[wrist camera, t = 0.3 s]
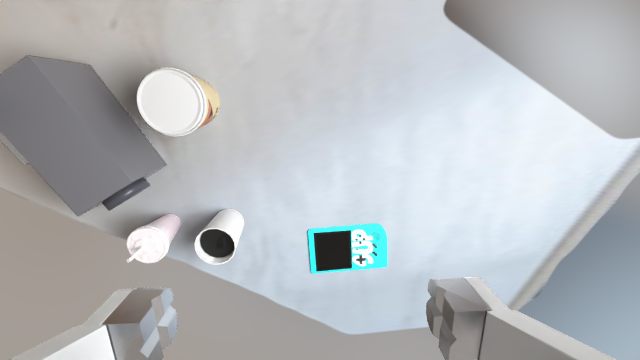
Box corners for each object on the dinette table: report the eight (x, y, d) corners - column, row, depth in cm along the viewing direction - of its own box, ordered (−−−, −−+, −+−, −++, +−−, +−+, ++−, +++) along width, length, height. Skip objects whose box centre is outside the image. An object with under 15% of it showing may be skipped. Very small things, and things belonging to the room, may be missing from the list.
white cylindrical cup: (240, 202, 58) (228, 223, 49) (250, 233, 60) (241, 259, 51) (207, 210, 58) (188, 233, 49) (218, 241, 60) (202, 268, 51)
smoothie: (148, 212, 58) (101, 246, 44) (180, 203, 58) (143, 235, 44) (161, 241, 59) (120, 283, 46) (193, 233, 59) (161, 272, 46)
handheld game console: (385, 265, 64) (387, 268, 63) (310, 271, 64) (310, 275, 63) (385, 221, 62) (387, 224, 61) (307, 227, 61) (307, 230, 60)
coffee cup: (195, 139, 55) (166, 150, 43) (159, 95, 53) (118, 94, 41) (236, 108, 54) (218, 111, 42) (201, 62, 52) (172, 52, 40)
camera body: (41, 98, 52) (-34, 98, 40) (90, 65, 51) (27, 55, 39) (127, 200, 57) (83, 226, 45) (172, 171, 56) (139, 191, 45)
